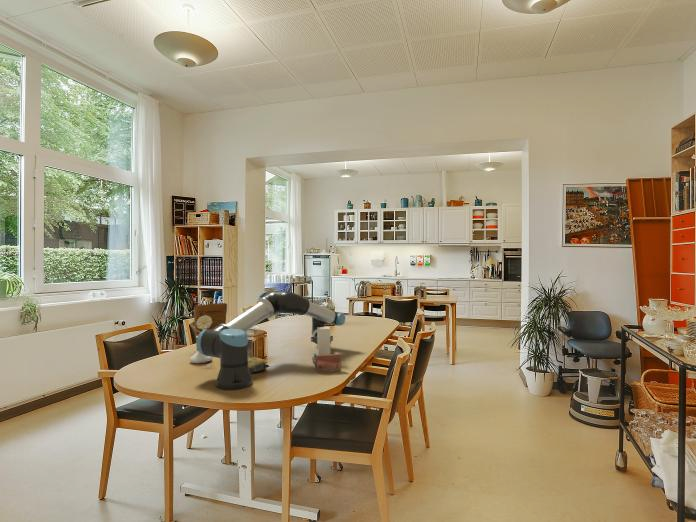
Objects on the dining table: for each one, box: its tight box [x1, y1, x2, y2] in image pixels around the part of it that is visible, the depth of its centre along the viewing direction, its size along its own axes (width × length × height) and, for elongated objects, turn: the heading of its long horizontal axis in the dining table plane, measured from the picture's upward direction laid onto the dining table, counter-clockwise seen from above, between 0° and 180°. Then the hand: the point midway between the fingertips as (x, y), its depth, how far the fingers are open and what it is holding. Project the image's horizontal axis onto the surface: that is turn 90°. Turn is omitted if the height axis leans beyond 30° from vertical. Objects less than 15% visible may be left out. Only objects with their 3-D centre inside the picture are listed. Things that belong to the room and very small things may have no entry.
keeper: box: [316, 326, 331, 355], centre depth 213 cm, size 6×6×16 cm
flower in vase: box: [189, 315, 213, 364], centre depth 216 cm, size 13×11×25 cm
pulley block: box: [248, 355, 270, 374], centre depth 205 cm, size 14×6×30 cm
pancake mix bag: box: [193, 302, 228, 352], centre depth 245 cm, size 7×19×28 cm, turn 111°
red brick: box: [311, 352, 341, 373], centre depth 207 cm, size 24×11×8 cm, turn 11°
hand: (325, 344), depth 216 cm, fingers closed
